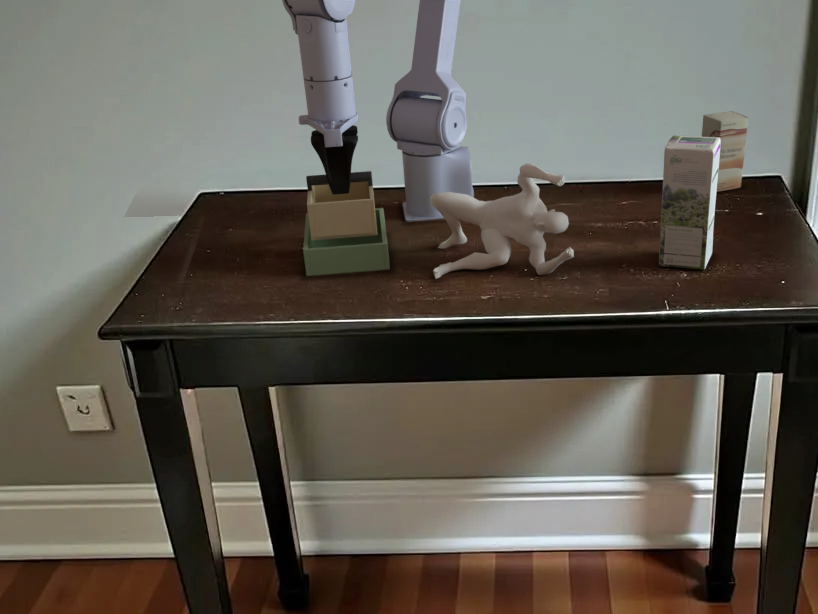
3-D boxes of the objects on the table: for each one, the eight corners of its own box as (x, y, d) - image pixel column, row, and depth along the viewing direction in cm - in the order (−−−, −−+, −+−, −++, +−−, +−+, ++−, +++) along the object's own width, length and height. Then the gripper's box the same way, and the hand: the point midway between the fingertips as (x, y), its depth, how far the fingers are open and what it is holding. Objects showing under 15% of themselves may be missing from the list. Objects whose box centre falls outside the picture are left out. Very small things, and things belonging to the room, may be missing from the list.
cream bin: (374, 204, 140) (370, 158, 137) (377, 235, 130) (372, 185, 126) (313, 209, 139) (307, 162, 136) (311, 240, 129) (304, 190, 126)
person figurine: (407, 189, 123) (561, 157, 120) (423, 181, 135) (563, 152, 132) (431, 300, 127) (580, 271, 125) (445, 282, 139) (581, 256, 136)
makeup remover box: (713, 193, 152) (719, 121, 147) (696, 185, 156) (700, 114, 150) (743, 187, 154) (750, 115, 149) (725, 180, 157) (731, 109, 152)
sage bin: (385, 234, 143) (383, 207, 141) (390, 271, 131) (387, 243, 129) (309, 240, 142) (305, 213, 140) (306, 278, 130) (303, 250, 128)
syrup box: (712, 254, 132) (722, 135, 124) (705, 271, 127) (714, 148, 119) (666, 251, 133) (673, 132, 126) (657, 267, 129) (663, 146, 121)
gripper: (295, 66, 131) (309, 176, 138) (291, 92, 119) (307, 211, 126) (353, 62, 132) (364, 172, 139) (354, 87, 119) (366, 207, 127)
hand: (340, 191), depth 132 cm, fingers closed on cream bin
